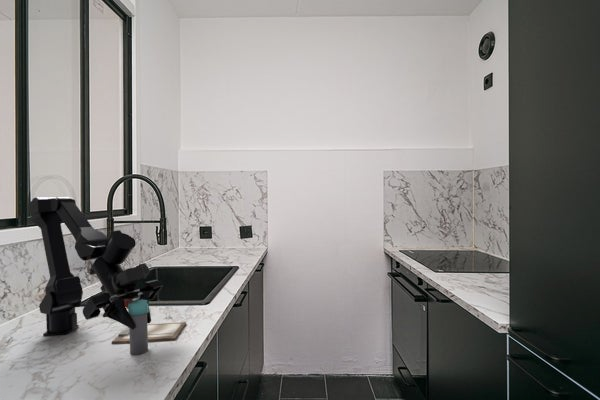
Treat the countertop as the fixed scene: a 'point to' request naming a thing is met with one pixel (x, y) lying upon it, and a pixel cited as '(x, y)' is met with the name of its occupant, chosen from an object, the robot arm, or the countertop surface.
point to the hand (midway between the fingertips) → (142, 325)
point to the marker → (138, 327)
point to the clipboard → (154, 332)
